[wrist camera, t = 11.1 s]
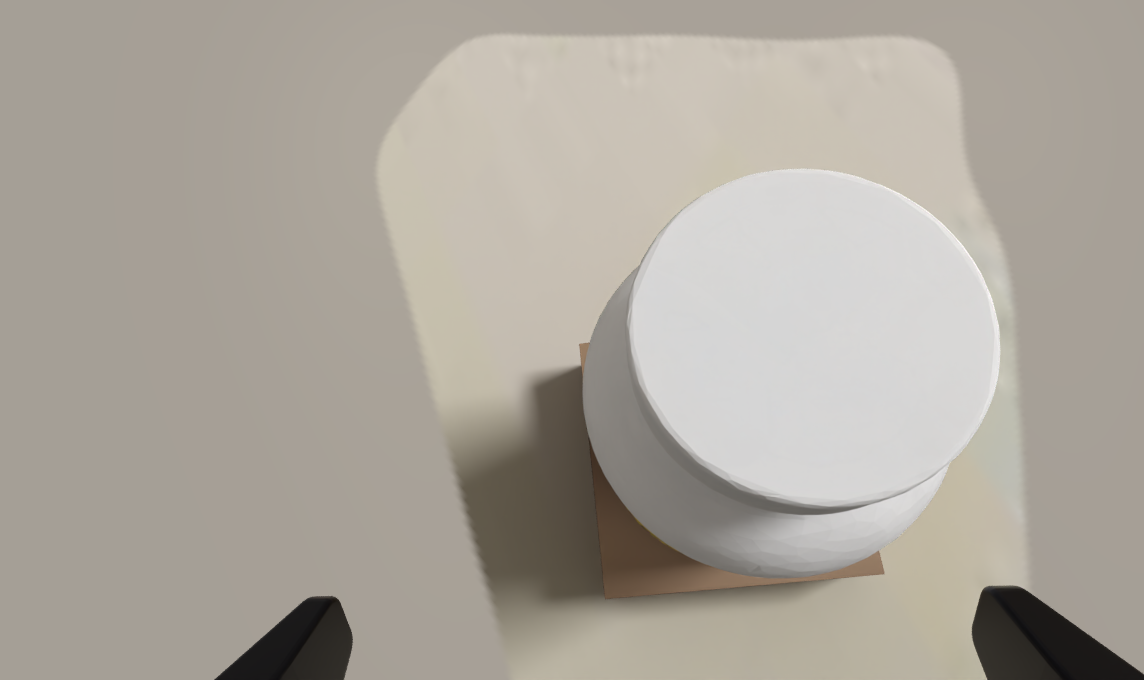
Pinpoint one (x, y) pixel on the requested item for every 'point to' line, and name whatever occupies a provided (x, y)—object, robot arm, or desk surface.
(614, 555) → the walnut plinth
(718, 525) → the supplement bottle
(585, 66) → the desk surface
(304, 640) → the robot arm
